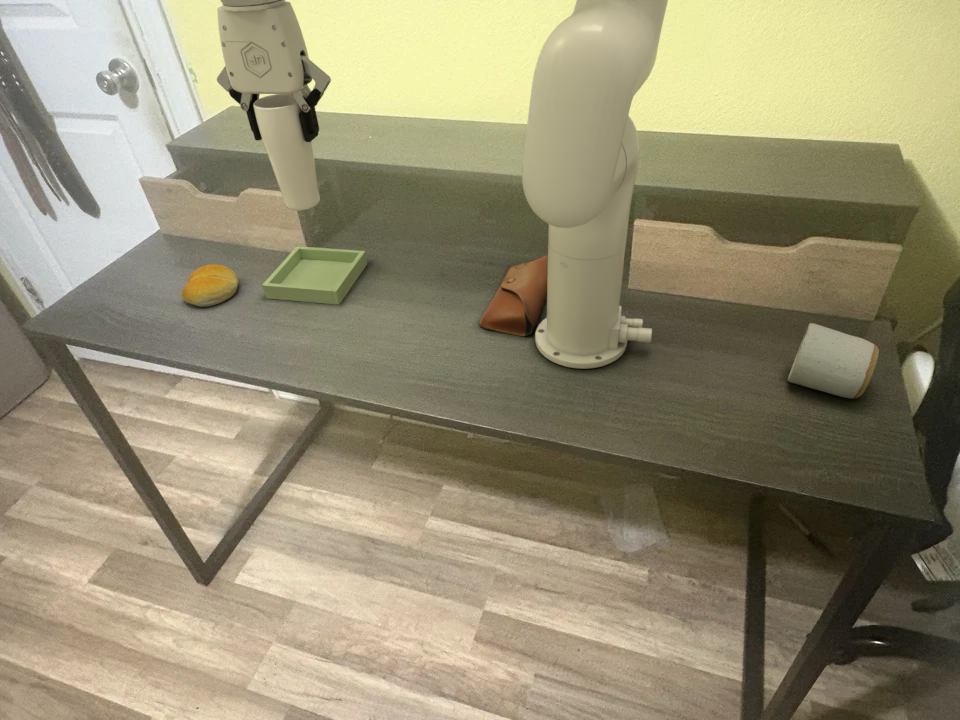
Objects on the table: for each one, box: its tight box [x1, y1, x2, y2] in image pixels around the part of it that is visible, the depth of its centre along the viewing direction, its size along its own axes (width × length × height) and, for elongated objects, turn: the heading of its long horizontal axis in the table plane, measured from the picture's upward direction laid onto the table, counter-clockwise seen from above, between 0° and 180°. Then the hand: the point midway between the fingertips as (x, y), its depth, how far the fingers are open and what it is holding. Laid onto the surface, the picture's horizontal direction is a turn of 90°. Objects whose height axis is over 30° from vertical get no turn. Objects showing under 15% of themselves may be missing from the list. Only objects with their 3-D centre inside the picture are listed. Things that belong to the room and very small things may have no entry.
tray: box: [261, 245, 369, 306], centre depth 104 cm, size 13×13×2 cm
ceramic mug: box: [787, 322, 880, 399], centre depth 77 cm, size 11×8×8 cm
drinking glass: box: [253, 94, 321, 211], centre depth 90 cm, size 7×7×15 cm
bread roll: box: [181, 263, 240, 307], centre depth 102 cm, size 8×9×4 cm
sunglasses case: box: [478, 253, 548, 338], centre depth 96 cm, size 18×7×7 cm, turn 163°
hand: (287, 136), depth 88 cm, fingers closed on drinking glass, 6 cm apart
